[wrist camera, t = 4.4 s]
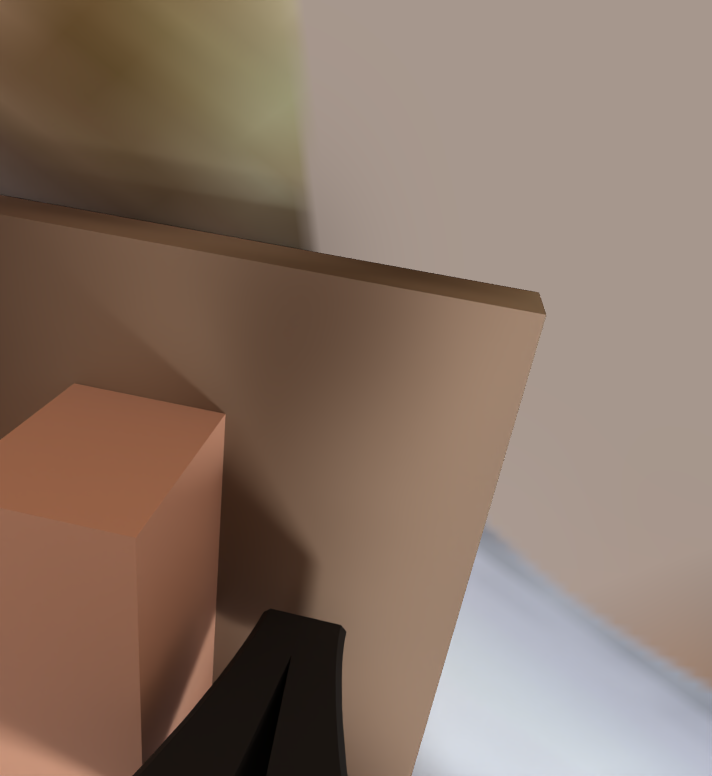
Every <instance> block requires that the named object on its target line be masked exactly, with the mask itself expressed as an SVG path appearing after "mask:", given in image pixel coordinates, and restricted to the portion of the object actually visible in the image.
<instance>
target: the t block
mask: <svg viewBox="0 0 712 776" xmlns="http://www.w3.org/2000/svg"><path fill="white" fill-rule="evenodd" d="M225 415H226V414H224V413H219V412H214V411H209V410H204V409H199V408H194V407H189V406H184V405H179V404H174V403H169V402H164V401H159V400H154V399H149V398H144V397H140V396H135V395H130V394H125V393H120V392H115V391H110V390H105V389H100V388H95V387H90V386H85V385H80V384H75V383H74V384H73V385H71V386H70V387H69V388H67V389H66V390H65V391H63V392H62V393H61V394H59V395H58V396H57V397H56V398H54V399H53V400H52V401H50V402H49V403H48V404H46V405H45V406H44V407H43V408H41V409H40V410H39V411H37V412H36V413H35V414H33V415H32V416H31V417H29V418H28V419H27V420H26V421H24V422H23V423H22V424H20V425H19V426H18V427H16V428H15V429H14V430H13V431H11V432H10V433H9V434H7V435H6V436H5V437H3V438H2V439H1V440H0V776H132V775H133V774H134V773H135V772H136V771H137V770H138V769H139V768H140V767H141V766H142V765H143V764H144V763H145V762H146V761H147V760H148V758H149V757H150V756H151V755H152V754H153V753H154V752H155V751H156V750H157V749H158V747H159V746H160V745H161V744H162V743H163V742H164V741H165V740H166V739H167V737H168V736H169V735H170V734H171V733H172V732H173V731H174V730H175V729H176V728H177V726H178V725H179V724H180V723H181V722H182V721H183V720H184V718H185V717H186V716H187V715H188V714H189V713H190V711H191V710H192V709H193V708H194V707H195V705H196V704H197V703H198V702H199V700H200V699H201V698H202V697H203V695H204V694H205V693H206V692H207V691H208V689H209V688H210V687H211V686H212V678H213V658H214V638H215V618H216V597H217V577H218V557H219V537H220V516H221V496H222V476H223V456H224V436H225Z"/></svg>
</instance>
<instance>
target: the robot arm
mask: <svg viewBox="0 0 712 776" xmlns="http://www.w3.org/2000/svg"><path fill="white" fill-rule="evenodd" d="M345 637H346V630H345V629H344V628H343V627H342V626H341V625H339V624H335V623H330V622H326V621H322V620H318V619H313V618H309V617H305V616H301V615H296V614H292V613H288V612H284V611H279V610H275V609H271V608H270V609H268V610H266V611H264V612H263V614H262V615H261V617H260V619H259V620H258V622H257V624H256V625H255V627H254V628H253V630H252V631H251V633H250V634H249V636H248V637H247V639H246V640H245V642H244V643H243V645H242V646H241V648H240V649H239V650H238V652H237V653H236V654H235V656H234V657H233V659H232V660H231V661H230V663H229V664H228V665H227V667H226V668H225V669H224V670H223V672H222V673H221V674H220V676H219V677H218V678H217V680H216V681H215V682H214V683H213V684H212V686H211V687H210V688H209V689H208V691H207V692H206V693H205V694H204V695H203V697H202V698H201V699H200V700H199V702H198V703H197V704H196V705H195V707H194V708H193V709H192V710H191V711H190V713H189V714H188V715H187V716H186V717H185V718H184V720H183V721H182V722H181V723H180V724H179V725H178V726H177V728H176V729H175V730H174V731H173V732H172V733H171V734H170V735H169V736H168V737H167V739H166V740H165V741H164V742H163V743H162V744H161V745H160V746H159V747H158V749H157V750H156V751H155V752H154V753H153V754H152V755H151V756H150V757H149V758H148V760H147V761H146V762H145V763H144V764H143V765H142V766H141V767H140V768H139V769H138V770H137V771H136V772H135V773H134V774H133V775H132V776H348V775H347V766H346V754H345V742H344V730H343V713H342V662H343V650H344V642H345Z"/></svg>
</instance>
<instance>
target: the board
mask: <svg viewBox="0 0 712 776" xmlns="http://www.w3.org/2000/svg"><path fill="white" fill-rule="evenodd" d="M545 317H546V313H545V309H544V306H543V303H542V300H541V298H540V294H539V293H538V292H533V291H527V290H522V289H516V288H511V287H505V286H500V285H494V284H489V283H483V282H477V281H472V280H467V279H461V278H456V277H450V276H444V275H439V274H434V273H428V272H422V271H417V270H412V269H406V268H400V267H395V266H389V265H384V264H379V263H373V262H367V261H362V260H356V259H351V258H345V257H340V256H334V255H329V254H323V253H318V252H312V251H307V250H301V249H296V248H290V247H285V246H279V245H274V244H268V243H263V242H257V241H252V240H246V239H241V238H235V237H230V236H224V235H219V234H213V233H208V232H202V231H196V230H191V229H185V228H180V227H174V226H169V225H163V224H158V223H152V222H147V221H141V220H136V219H130V218H125V217H119V216H114V215H108V214H103V213H97V212H92V211H86V210H81V209H75V208H70V207H64V206H59V205H53V204H48V203H42V202H36V201H31V200H25V199H20V198H14V197H9V196H3V195H0V440H1V439H2V438H3V437H5V436H6V435H7V434H9V433H10V432H11V431H13V430H14V429H15V428H16V427H18V426H19V425H20V424H22V423H23V422H24V421H26V420H27V419H28V418H29V417H31V416H32V415H33V414H35V413H36V412H37V411H39V410H40V409H41V408H43V407H44V406H45V405H46V404H48V403H49V402H50V401H52V400H53V399H54V398H56V397H57V396H58V395H59V394H61V393H62V392H63V391H65V390H66V389H67V388H69V387H70V386H71V385H73V384H74V383H75V384H80V385H85V386H90V387H95V388H100V389H105V390H110V391H115V392H120V393H125V394H130V395H135V396H140V397H144V398H149V399H154V400H159V401H164V402H169V403H174V404H179V405H184V406H189V407H194V408H199V409H204V410H209V411H214V412H219V413H224V414H226V415H225V436H224V456H223V476H222V496H221V516H220V537H219V557H218V577H217V597H216V618H215V638H214V658H213V678H212V684H213V683H214V682H215V681H216V680H217V678H218V677H219V676H220V674H221V673H222V672H223V670H224V669H225V668H226V667H227V665H228V664H229V663H230V661H231V660H232V659H233V657H234V656H235V654H236V653H237V652H238V650H239V649H240V648H241V646H242V645H243V643H244V642H245V640H246V639H247V637H248V636H249V634H250V633H251V631H252V630H253V628H254V627H255V625H256V624H257V622H258V620H259V619H260V617H261V615H262V614H263V612H264V611H266V610H268V609H270V608H271V609H275V610H279V611H284V612H288V613H292V614H296V615H301V616H305V617H309V618H313V619H318V620H322V621H326V622H330V623H335V624H339V625H341V626H342V627H343V628H344V629H345V630H346V637H345V642H344V650H343V662H342V713H343V730H344V742H345V754H346V766H347V775H348V776H411V775H412V772H413V768H414V765H415V761H416V758H417V755H418V751H419V748H420V744H421V741H422V737H423V734H424V731H425V727H426V724H427V720H428V717H429V714H430V710H431V707H432V703H433V700H434V697H435V693H436V690H437V686H438V683H439V679H440V676H441V673H442V669H443V666H444V662H445V659H446V656H447V652H448V649H449V645H450V642H451V638H452V635H453V632H454V628H455V625H456V621H457V618H458V615H459V611H460V608H461V604H462V601H463V598H464V594H465V591H466V587H467V584H468V580H469V577H470V574H471V570H472V567H473V563H474V560H475V557H476V553H477V550H478V546H479V543H480V539H481V536H482V533H483V529H484V526H485V522H486V519H487V516H488V512H489V509H490V505H491V502H492V498H493V495H494V492H495V488H496V485H497V481H498V478H499V475H500V471H501V468H502V464H503V461H504V458H505V454H506V450H507V447H508V444H509V440H510V436H511V434H512V430H513V427H514V423H515V420H516V416H517V413H518V410H519V406H520V403H521V399H522V396H523V393H524V389H525V386H526V382H527V379H528V376H529V372H530V369H531V365H532V362H533V358H534V355H535V351H536V348H537V345H538V341H539V338H540V335H541V331H542V328H543V324H544V321H545Z"/></svg>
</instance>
